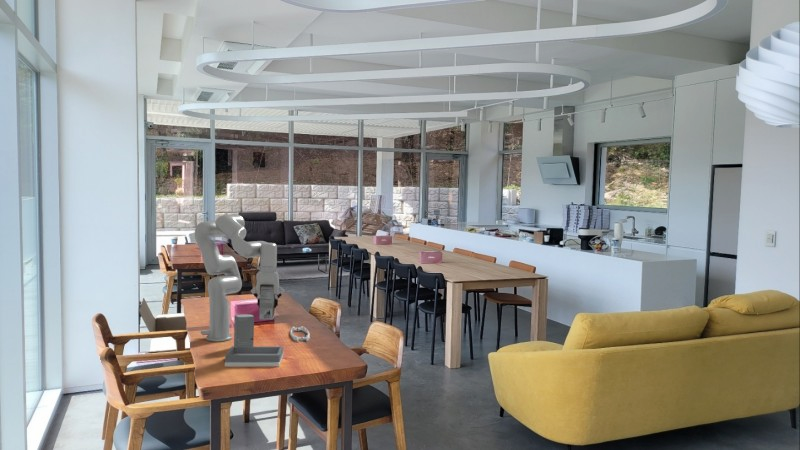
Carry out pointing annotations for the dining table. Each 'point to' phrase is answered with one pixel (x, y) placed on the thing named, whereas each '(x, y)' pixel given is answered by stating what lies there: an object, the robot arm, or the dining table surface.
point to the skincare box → (244, 330)
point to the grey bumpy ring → (300, 337)
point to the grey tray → (254, 356)
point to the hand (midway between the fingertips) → (267, 306)
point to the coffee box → (267, 302)
